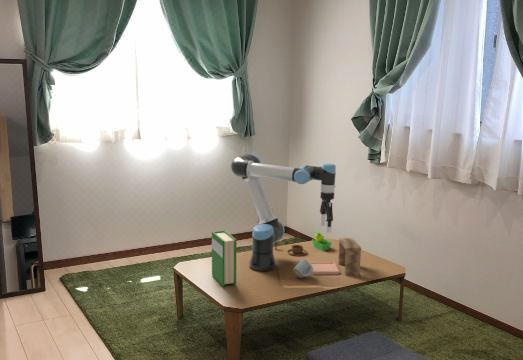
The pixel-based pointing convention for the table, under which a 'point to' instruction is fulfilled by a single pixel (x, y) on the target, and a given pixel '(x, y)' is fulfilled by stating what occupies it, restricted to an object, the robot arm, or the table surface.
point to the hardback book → (224, 257)
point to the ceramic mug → (303, 269)
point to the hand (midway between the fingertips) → (325, 228)
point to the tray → (324, 268)
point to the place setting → (294, 250)
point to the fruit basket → (321, 242)
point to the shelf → (349, 256)
